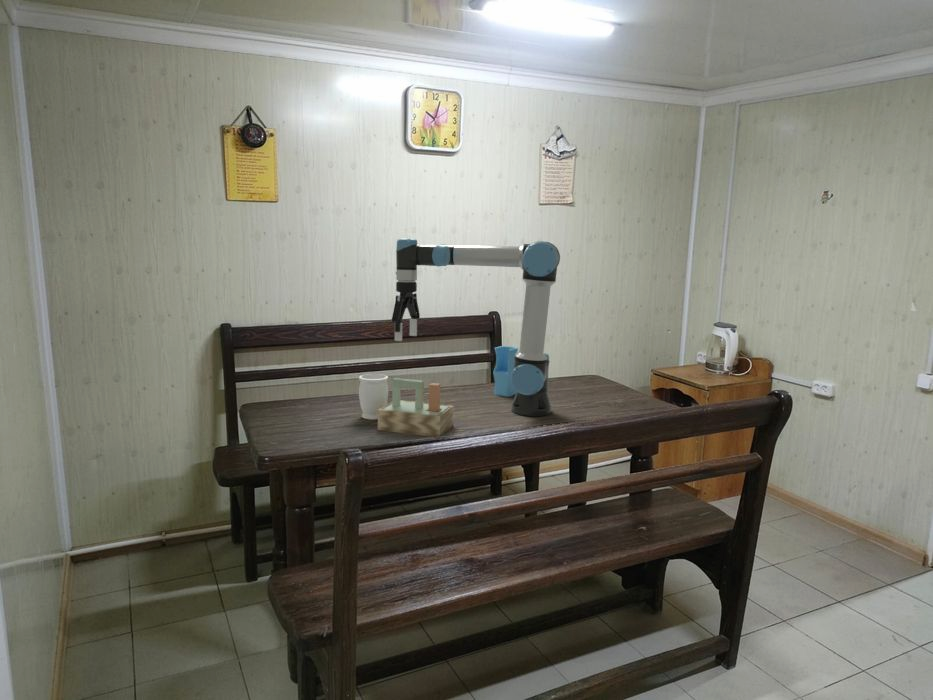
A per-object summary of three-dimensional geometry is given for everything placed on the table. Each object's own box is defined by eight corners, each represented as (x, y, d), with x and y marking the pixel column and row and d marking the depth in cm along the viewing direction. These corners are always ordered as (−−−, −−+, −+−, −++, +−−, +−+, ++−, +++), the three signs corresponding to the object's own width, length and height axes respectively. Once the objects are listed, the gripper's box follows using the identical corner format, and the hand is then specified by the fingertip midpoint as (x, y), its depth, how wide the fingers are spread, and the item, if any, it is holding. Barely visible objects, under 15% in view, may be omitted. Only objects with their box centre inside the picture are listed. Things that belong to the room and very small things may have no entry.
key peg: (439, 426, 217) (440, 383, 214) (436, 428, 214) (437, 385, 211) (431, 425, 218) (432, 382, 215) (428, 427, 215) (429, 384, 212)
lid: (448, 409, 220) (449, 379, 218) (436, 418, 208) (437, 387, 206) (397, 403, 225) (397, 374, 223) (382, 412, 214) (383, 381, 212)
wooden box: (453, 425, 222) (453, 405, 220) (438, 437, 208) (439, 417, 206) (395, 418, 228) (395, 399, 227) (377, 429, 214) (377, 409, 213)
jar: (374, 422, 222) (375, 381, 219) (352, 417, 227) (352, 377, 224) (393, 416, 231) (394, 376, 228) (372, 411, 236) (372, 372, 233)
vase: (492, 393, 268) (494, 347, 265) (501, 390, 275) (503, 345, 271) (508, 397, 264) (510, 350, 261) (517, 393, 270) (519, 347, 267)
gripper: (410, 279, 245) (410, 333, 248) (382, 282, 221) (382, 342, 225) (428, 279, 242) (427, 334, 246) (401, 283, 219) (401, 343, 223)
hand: (406, 338), depth 235 cm, fingers open, 13 cm apart
